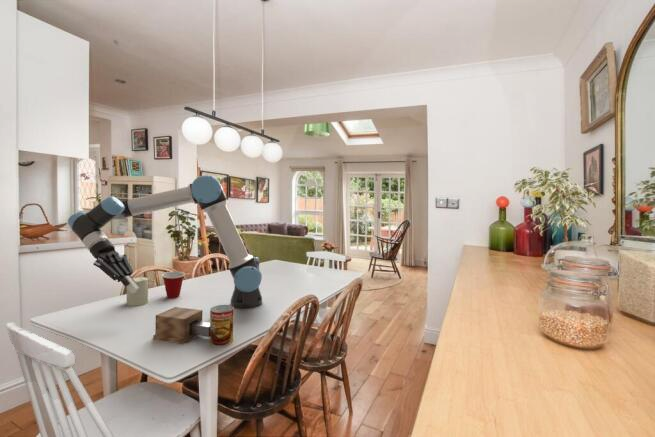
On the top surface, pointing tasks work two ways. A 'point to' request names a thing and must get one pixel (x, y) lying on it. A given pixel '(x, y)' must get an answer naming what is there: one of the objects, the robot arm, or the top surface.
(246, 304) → the robot arm
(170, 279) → the plastic cup
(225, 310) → the canned food
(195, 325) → the shaft
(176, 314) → the bearing block
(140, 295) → the can
